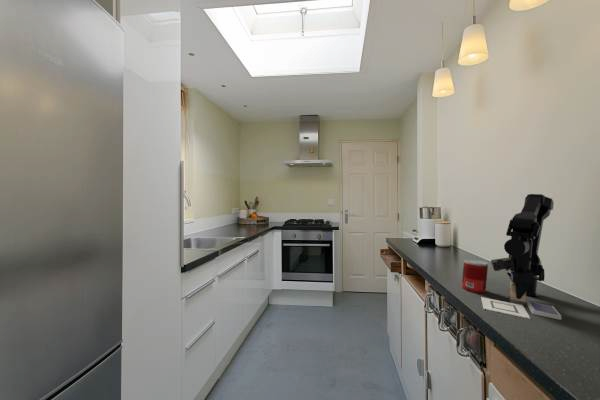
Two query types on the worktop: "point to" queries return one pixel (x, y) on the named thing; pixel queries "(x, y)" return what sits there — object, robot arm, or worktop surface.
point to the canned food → (474, 276)
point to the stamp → (513, 295)
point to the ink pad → (543, 310)
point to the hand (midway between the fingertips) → (517, 296)
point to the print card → (504, 307)
